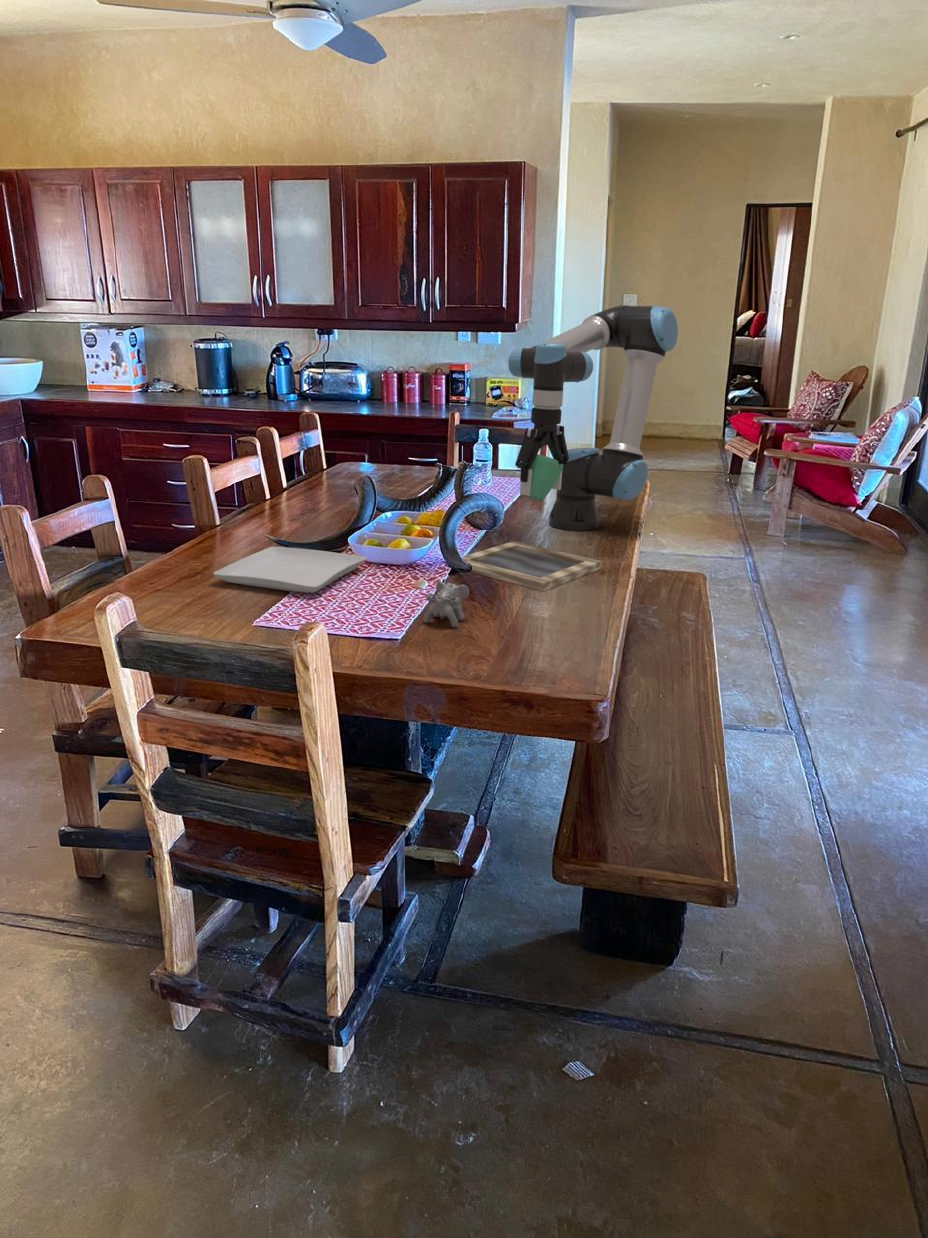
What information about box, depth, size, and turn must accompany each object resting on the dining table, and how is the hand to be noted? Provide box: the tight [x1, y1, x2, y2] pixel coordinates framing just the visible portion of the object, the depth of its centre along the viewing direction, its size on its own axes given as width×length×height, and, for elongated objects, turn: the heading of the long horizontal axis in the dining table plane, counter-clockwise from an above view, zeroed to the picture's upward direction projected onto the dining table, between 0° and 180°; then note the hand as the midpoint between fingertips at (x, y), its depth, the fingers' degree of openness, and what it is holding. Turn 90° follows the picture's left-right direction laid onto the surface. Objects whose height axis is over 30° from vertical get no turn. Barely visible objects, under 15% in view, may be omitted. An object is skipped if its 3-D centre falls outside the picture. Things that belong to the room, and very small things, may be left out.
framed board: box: [461, 540, 603, 592], centre depth 226 cm, size 26×28×2 cm
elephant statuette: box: [422, 580, 470, 628], centre depth 188 cm, size 9×12×8 cm
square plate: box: [212, 545, 367, 594], centre depth 214 cm, size 27×27×4 cm
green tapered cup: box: [524, 454, 563, 502], centre depth 230 cm, size 15×10×10 cm
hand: (540, 491), depth 230 cm, fingers closed on green tapered cup, 13 cm apart
